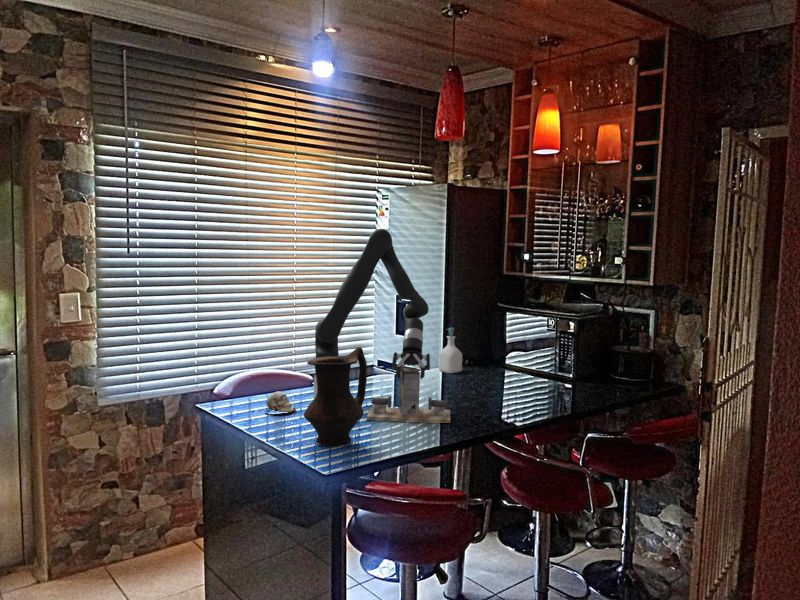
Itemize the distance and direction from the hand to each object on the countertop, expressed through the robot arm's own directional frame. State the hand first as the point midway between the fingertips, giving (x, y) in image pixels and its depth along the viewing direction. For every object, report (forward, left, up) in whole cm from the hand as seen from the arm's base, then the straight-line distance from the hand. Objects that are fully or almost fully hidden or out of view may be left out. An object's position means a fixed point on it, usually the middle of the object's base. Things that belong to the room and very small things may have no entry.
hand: (410, 377), depth 230 cm
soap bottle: (+57, +69, -15) cm, 91 cm away
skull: (-43, +22, -15) cm, 51 cm away
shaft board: (-1, -2, -14) cm, 15 cm away
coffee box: (-1, -2, -13) cm, 13 cm away
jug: (-36, -21, -15) cm, 44 cm away
